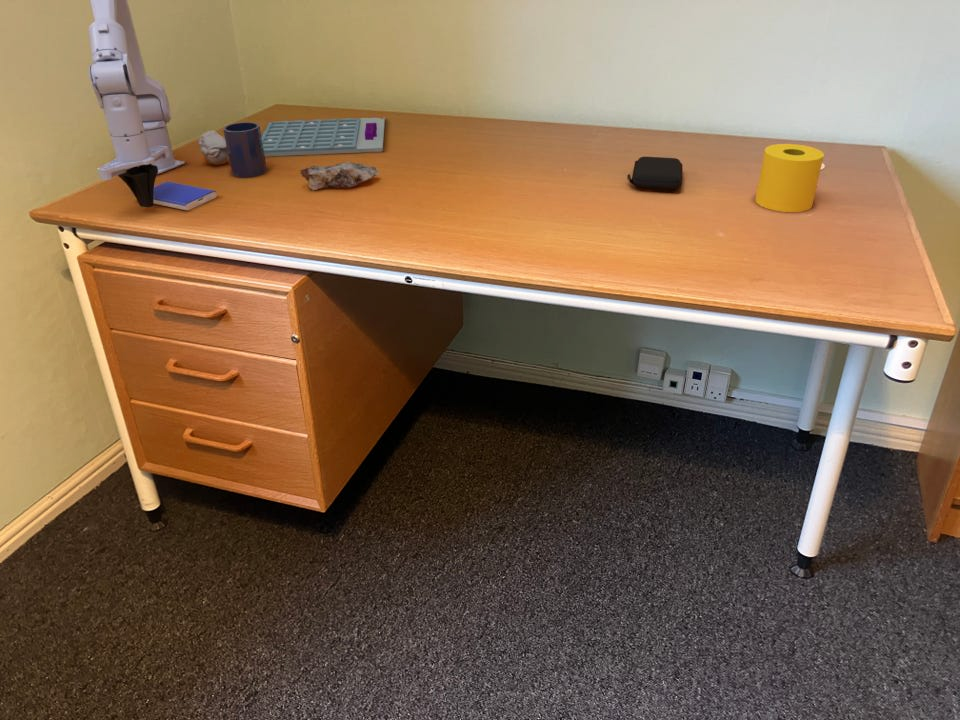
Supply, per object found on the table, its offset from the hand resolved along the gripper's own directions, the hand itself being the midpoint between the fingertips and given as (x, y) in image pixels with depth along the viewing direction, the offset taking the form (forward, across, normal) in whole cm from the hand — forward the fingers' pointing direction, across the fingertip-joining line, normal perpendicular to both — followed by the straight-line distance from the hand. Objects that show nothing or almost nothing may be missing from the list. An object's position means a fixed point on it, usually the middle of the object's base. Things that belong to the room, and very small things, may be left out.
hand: (146, 205), depth 140 cm
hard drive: (+2, +8, 0) cm, 8 cm away
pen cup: (+1, +26, -2) cm, 26 cm away
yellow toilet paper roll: (+2, +53, -106) cm, 119 cm away
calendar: (+2, +54, -1) cm, 54 cm away
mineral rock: (+2, +28, -24) cm, 37 cm away
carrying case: (+2, +54, -82) cm, 98 cm away
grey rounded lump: (+2, +27, +8) cm, 29 cm away
